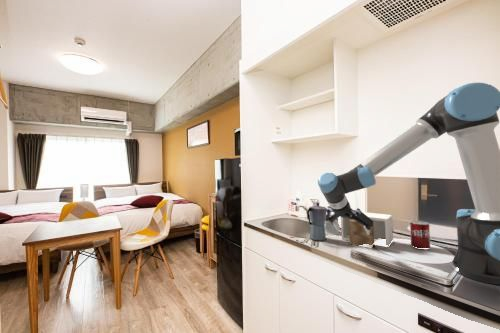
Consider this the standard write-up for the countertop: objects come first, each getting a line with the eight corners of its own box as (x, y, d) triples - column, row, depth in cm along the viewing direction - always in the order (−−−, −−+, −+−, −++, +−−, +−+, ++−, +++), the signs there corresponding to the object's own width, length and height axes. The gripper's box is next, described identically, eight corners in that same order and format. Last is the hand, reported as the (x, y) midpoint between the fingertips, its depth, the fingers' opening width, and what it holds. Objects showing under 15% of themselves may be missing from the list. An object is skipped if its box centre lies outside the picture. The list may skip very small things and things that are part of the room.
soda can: (434, 250, 98) (433, 224, 98) (416, 250, 100) (415, 224, 100) (424, 245, 105) (423, 220, 105) (407, 244, 107) (406, 220, 107)
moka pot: (332, 237, 121) (331, 202, 121) (317, 244, 111) (315, 205, 111) (318, 234, 128) (316, 200, 128) (302, 240, 118) (300, 203, 119)
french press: (324, 234, 127) (323, 192, 127) (321, 229, 138) (319, 190, 138) (342, 234, 125) (340, 192, 125) (337, 229, 136) (335, 190, 137)
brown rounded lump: (374, 246, 106) (373, 221, 107) (371, 249, 103) (370, 224, 103) (352, 241, 113) (352, 219, 113) (349, 244, 109) (348, 221, 110)
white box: (393, 242, 111) (392, 215, 111) (388, 248, 103) (387, 219, 103) (348, 234, 126) (347, 210, 126) (341, 239, 118) (340, 213, 118)
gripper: (308, 207, 97) (325, 232, 107) (370, 213, 80) (382, 242, 90) (313, 194, 101) (328, 220, 111) (372, 197, 84) (384, 226, 94)
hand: (352, 230), depth 101 cm, fingers open, 13 cm apart
